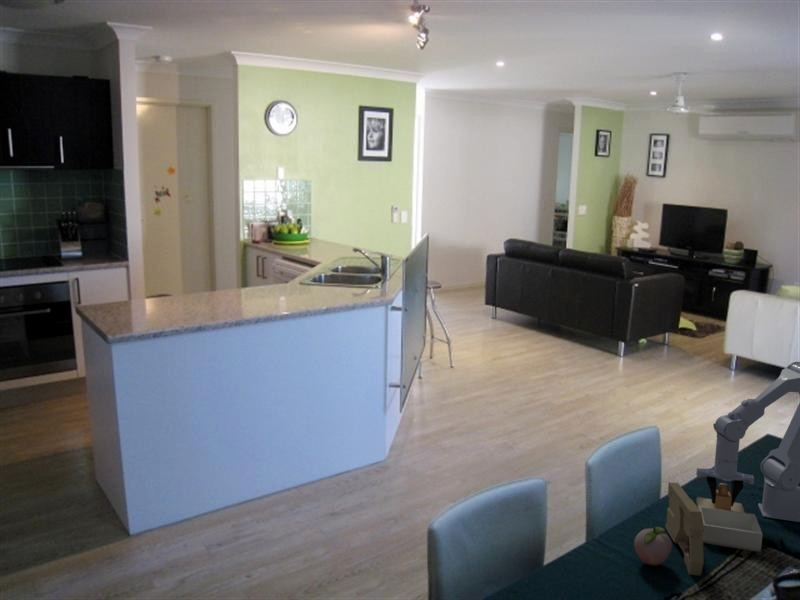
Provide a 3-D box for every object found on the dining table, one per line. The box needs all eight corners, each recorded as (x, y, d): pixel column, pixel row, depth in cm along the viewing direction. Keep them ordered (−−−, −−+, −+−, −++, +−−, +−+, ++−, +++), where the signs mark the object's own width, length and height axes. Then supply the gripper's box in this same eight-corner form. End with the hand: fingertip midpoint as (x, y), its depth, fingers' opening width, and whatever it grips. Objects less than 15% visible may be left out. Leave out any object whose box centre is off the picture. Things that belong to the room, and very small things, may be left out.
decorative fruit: (640, 550, 169) (643, 514, 167) (673, 562, 164) (676, 525, 162) (627, 566, 162) (629, 529, 160) (661, 579, 156) (664, 540, 155)
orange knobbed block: (728, 507, 189) (730, 483, 188) (730, 513, 185) (732, 489, 184) (713, 505, 190) (715, 481, 189) (714, 511, 187) (717, 486, 185)
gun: (704, 579, 157) (707, 518, 155) (689, 577, 157) (692, 517, 156) (676, 535, 181) (679, 482, 179) (664, 534, 181) (666, 481, 180)
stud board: (740, 508, 192) (742, 492, 191) (748, 528, 180) (749, 511, 180) (696, 501, 196) (697, 486, 195) (700, 520, 184) (701, 504, 183)
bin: (753, 531, 179) (754, 514, 178) (760, 552, 168) (762, 534, 168) (697, 522, 183) (698, 506, 182) (701, 542, 173) (702, 524, 172)
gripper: (699, 460, 184) (695, 505, 186) (757, 467, 179) (753, 513, 181) (697, 450, 190) (693, 494, 193) (753, 457, 186) (748, 502, 188)
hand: (722, 503), depth 187 cm, fingers closed on orange knobbed block, 4 cm apart
